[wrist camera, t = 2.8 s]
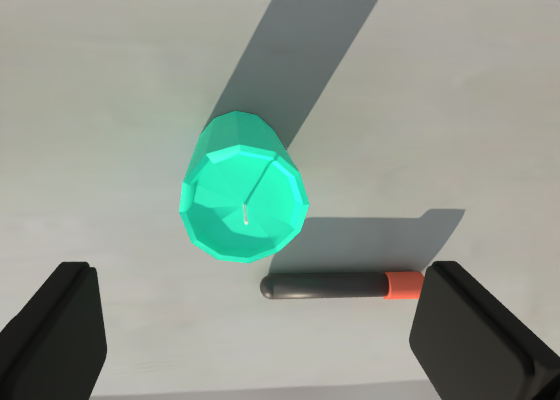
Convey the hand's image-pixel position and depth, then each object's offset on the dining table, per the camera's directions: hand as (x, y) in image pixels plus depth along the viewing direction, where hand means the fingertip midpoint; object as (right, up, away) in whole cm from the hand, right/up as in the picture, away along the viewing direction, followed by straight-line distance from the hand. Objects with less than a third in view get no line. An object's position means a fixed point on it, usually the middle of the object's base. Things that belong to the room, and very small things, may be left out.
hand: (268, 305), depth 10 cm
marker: (+5, -4, +21) cm, 22 cm away
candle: (-3, +6, +16) cm, 18 cm away
